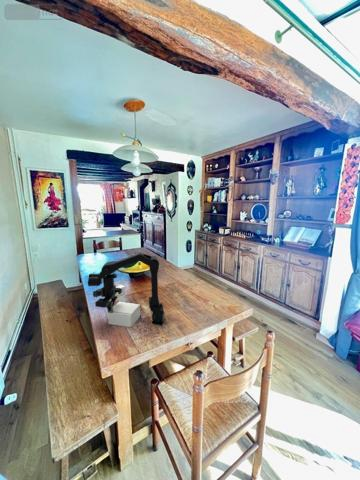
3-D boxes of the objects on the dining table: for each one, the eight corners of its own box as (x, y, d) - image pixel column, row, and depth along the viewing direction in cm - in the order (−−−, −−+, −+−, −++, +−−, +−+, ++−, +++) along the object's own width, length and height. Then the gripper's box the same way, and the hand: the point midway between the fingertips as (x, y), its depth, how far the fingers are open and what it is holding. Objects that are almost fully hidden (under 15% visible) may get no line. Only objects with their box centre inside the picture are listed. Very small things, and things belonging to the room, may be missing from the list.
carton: (139, 316, 126) (139, 304, 125) (131, 326, 116) (131, 313, 114) (119, 313, 129) (119, 301, 128) (110, 322, 119) (109, 310, 117)
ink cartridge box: (115, 306, 138) (114, 286, 135) (111, 303, 141) (110, 284, 138) (125, 301, 144) (125, 282, 142) (121, 299, 147) (120, 280, 145)
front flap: (131, 326, 115) (130, 308, 113) (130, 327, 114) (130, 309, 112) (109, 323, 118) (108, 305, 116) (108, 324, 117) (107, 306, 115)
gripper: (105, 277, 123) (106, 301, 126) (85, 290, 105) (87, 317, 108) (121, 279, 121) (122, 303, 124) (104, 293, 103) (106, 320, 106)
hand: (110, 310), depth 115 cm, fingers closed
